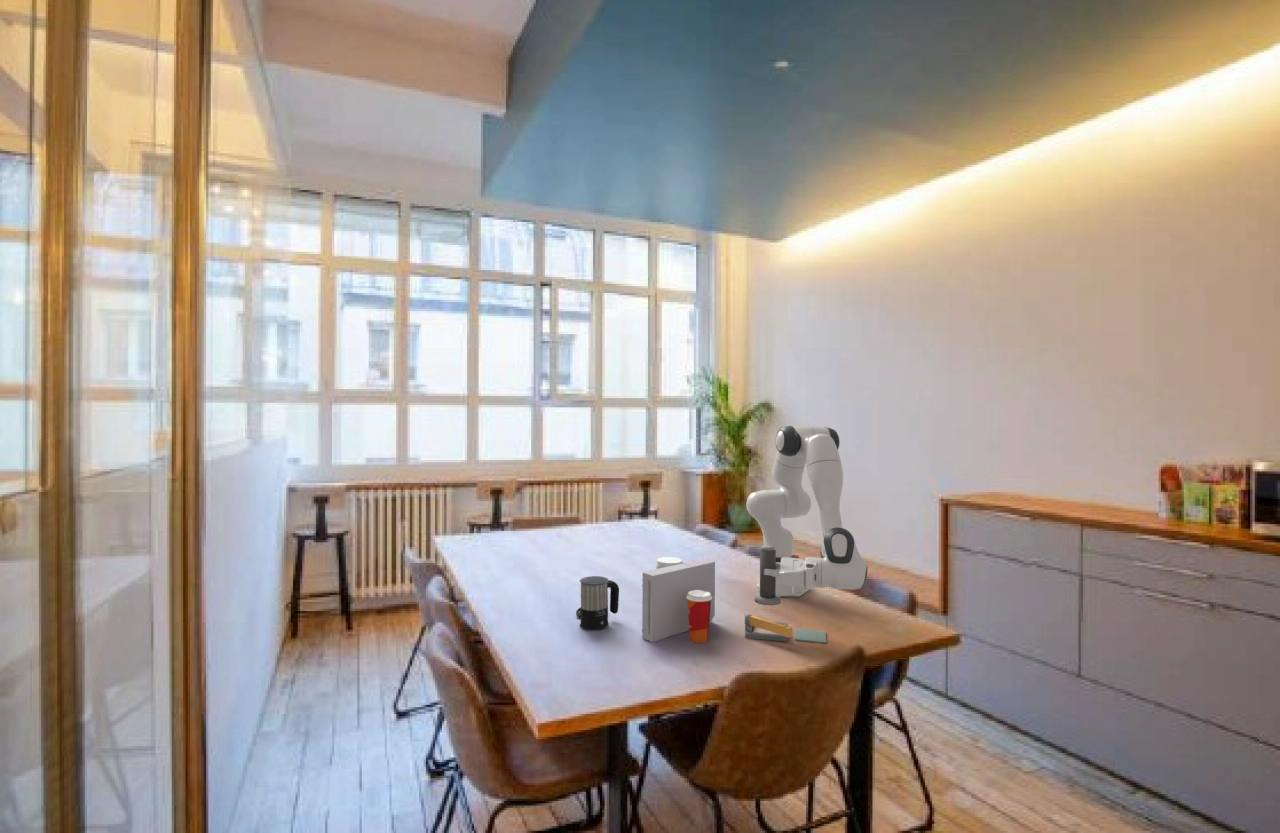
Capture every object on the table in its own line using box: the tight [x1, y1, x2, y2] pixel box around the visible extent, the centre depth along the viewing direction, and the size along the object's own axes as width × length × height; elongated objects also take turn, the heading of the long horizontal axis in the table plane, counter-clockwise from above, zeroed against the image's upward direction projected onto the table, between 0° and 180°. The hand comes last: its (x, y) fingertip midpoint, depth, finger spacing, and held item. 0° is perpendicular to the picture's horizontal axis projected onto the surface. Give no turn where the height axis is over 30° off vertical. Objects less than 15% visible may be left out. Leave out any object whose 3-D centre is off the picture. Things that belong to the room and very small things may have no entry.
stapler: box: [744, 613, 793, 638], centre depth 180 cm, size 16×2×3 cm, turn 44°
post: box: [744, 623, 753, 632], centre depth 185 cm, size 2×2×3 cm
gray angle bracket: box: [744, 621, 789, 642], centre depth 187 cm, size 12×12×1 cm
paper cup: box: [686, 590, 712, 644], centre depth 180 cm, size 8×8×14 cm
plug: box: [754, 545, 782, 606], centre depth 187 cm, size 8×8×17 cm
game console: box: [641, 558, 716, 643], centre depth 189 cm, size 6×27×20 cm, turn 130°
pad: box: [794, 628, 827, 644], centre depth 183 cm, size 9×9×1 cm
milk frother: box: [575, 575, 620, 631], centre depth 195 cm, size 14×16×15 cm
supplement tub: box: [655, 556, 683, 569], centre depth 218 cm, size 10×10×15 cm
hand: (764, 568), depth 187 cm, fingers closed on plug, 5 cm apart
